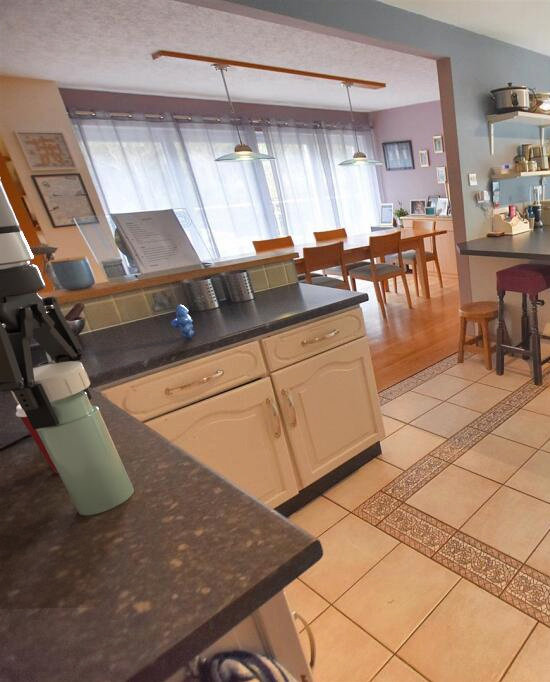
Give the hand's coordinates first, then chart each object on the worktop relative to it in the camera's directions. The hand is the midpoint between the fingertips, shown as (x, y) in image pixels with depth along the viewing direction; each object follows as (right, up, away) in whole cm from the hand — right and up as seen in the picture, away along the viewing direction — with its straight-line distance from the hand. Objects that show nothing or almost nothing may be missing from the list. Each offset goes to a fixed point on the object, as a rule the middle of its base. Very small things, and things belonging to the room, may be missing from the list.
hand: (64, 412), depth 67 cm
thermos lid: (0, +3, -1) cm, 3 cm away
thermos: (+1, -16, +6) cm, 17 cm away
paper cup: (-15, -13, +17) cm, 26 cm away
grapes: (-50, +12, +92) cm, 105 cm away
